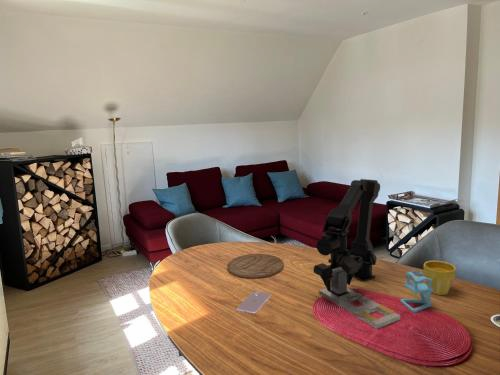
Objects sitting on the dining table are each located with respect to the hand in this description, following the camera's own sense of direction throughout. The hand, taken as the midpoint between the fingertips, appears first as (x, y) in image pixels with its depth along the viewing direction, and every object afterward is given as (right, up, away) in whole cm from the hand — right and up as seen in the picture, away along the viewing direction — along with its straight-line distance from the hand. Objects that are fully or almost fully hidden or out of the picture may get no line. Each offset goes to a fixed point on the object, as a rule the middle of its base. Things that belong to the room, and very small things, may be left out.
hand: (338, 287), depth 137 cm
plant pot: (+36, -1, 0) cm, 36 cm away
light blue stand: (+25, -4, -9) cm, 26 cm away
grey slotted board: (+4, -4, -7) cm, 10 cm away
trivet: (-30, +1, +31) cm, 43 cm away
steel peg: (0, -3, +1) cm, 3 cm away
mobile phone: (-31, -5, -1) cm, 31 cm away
